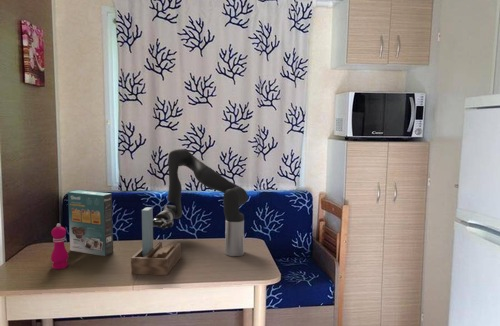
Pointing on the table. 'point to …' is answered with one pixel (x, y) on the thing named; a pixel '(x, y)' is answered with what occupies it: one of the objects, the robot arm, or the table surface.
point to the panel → (147, 230)
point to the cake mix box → (90, 222)
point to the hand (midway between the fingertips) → (153, 227)
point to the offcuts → (163, 251)
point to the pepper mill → (59, 248)
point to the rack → (155, 261)
